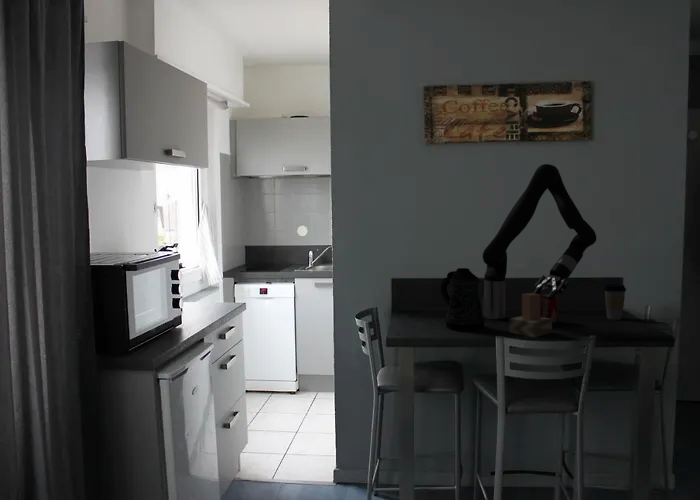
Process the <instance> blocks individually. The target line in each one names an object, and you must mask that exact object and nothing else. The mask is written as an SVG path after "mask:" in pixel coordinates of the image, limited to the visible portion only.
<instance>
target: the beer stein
mask: <svg viewBox="0 0 700 500" xmlns="http://www.w3.org/2000/svg"><path fill="white" fill-rule="evenodd" d="M479 283H480V278H479V277H478V276H477V275H476V274H474V273H473V272H472V271H471V270H470V268H466V267H459V268H457V269H456V270H453V271H450V272H448V273H447V274H446V277H445V278H443V279H442V280H441V283H440V286H439V288H440V293H441V297H442V299H443V301H444V302H445V303H446V304H447V306H448V310H447V314H446V316H445V327H446V329H448V330H451V331H457V332H458V331H459V332H478V331H482V330H484V329H485V321H486V320H485V319H486V318H484V317H483V309H482V307H481V306H482V305H481V299H480V294H479ZM448 285H451V288H450V295H449V293H448Z"/></svg>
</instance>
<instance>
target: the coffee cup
mask: <svg viewBox="0 0 700 500" xmlns="http://www.w3.org/2000/svg"><path fill="white" fill-rule="evenodd" d="M603 290H604V299H605V308H606V318H607V319H608V320H613V321H617V320H618V321H619V320H622V317H623V309H624V306H625V305H624V303H625V299H626V297H625V293H626V291H627V288H626V287H625V285H624V284H619V283H618V284H617V283H616V284H615V283H612V284H610V283H609V284H607V283H606V284H605V286H604V287H603Z"/></svg>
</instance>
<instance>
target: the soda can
mask: <svg viewBox="0 0 700 500" xmlns="http://www.w3.org/2000/svg"><path fill="white" fill-rule="evenodd" d="M549 294H550V293H545V294H542V297H541V298H540V317H543V318H549V319H552V324H555V323H556V322H558V318H559V299H558V296H557V295H558V294H556V296H555V297H554V298H553V299H552V301H550V300H549V299H548V298H547V297H548V295H549Z"/></svg>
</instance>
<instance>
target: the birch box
mask: <svg viewBox="0 0 700 500" xmlns="http://www.w3.org/2000/svg"><path fill="white" fill-rule="evenodd" d="M508 324H509V327H508V332H509V333H511V334H516V335H521V336H526V337H531V338H537V337H540V336H546V335H548V334H553V323H552V319H549V318H543V317H541V316H540V319H537V320H527V319H523V318H522V315H520V316H519V315H518V316H515V317H510V318H509V321H508Z"/></svg>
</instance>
